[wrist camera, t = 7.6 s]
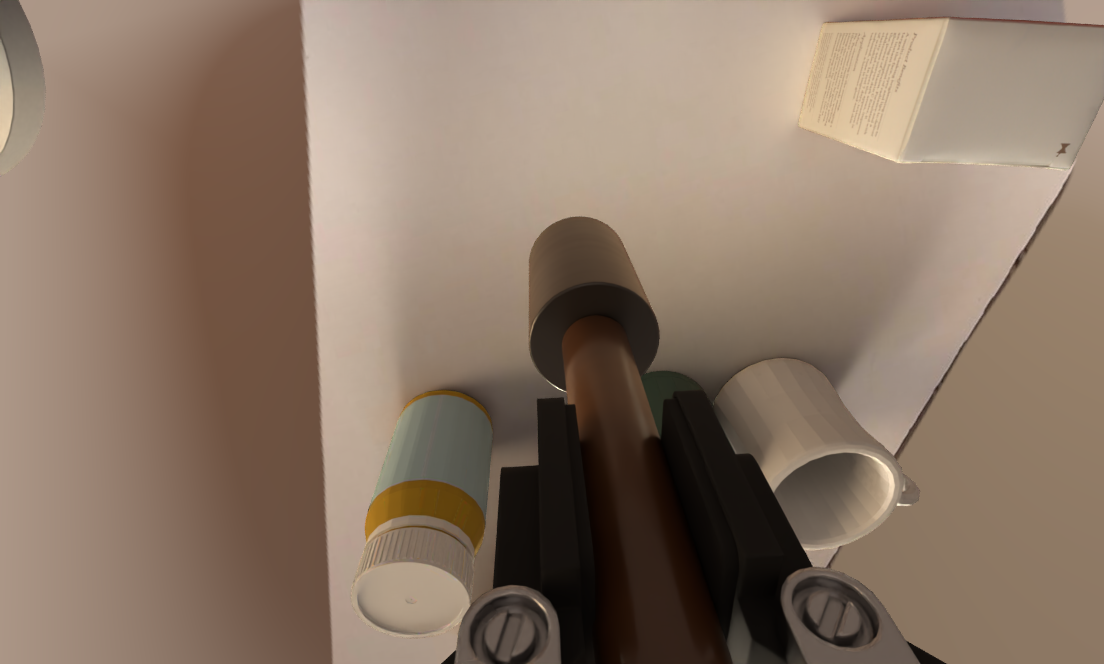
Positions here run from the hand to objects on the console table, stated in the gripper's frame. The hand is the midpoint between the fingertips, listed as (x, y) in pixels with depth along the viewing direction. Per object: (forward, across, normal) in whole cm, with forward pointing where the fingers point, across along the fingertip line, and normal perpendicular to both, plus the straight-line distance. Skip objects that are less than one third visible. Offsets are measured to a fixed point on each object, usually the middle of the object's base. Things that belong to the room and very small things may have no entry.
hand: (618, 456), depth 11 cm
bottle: (+26, +9, +18) cm, 33 cm away
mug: (+26, -17, +18) cm, 36 cm away
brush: (+11, 0, 0) cm, 11 cm away
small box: (+26, -18, -4) cm, 32 cm away
